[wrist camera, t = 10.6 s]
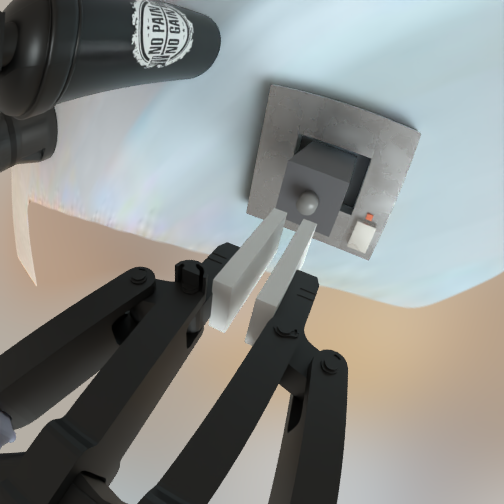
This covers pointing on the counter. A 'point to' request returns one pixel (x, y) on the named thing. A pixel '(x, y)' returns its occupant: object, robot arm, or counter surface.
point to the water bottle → (96, 49)
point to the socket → (342, 135)
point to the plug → (316, 185)
